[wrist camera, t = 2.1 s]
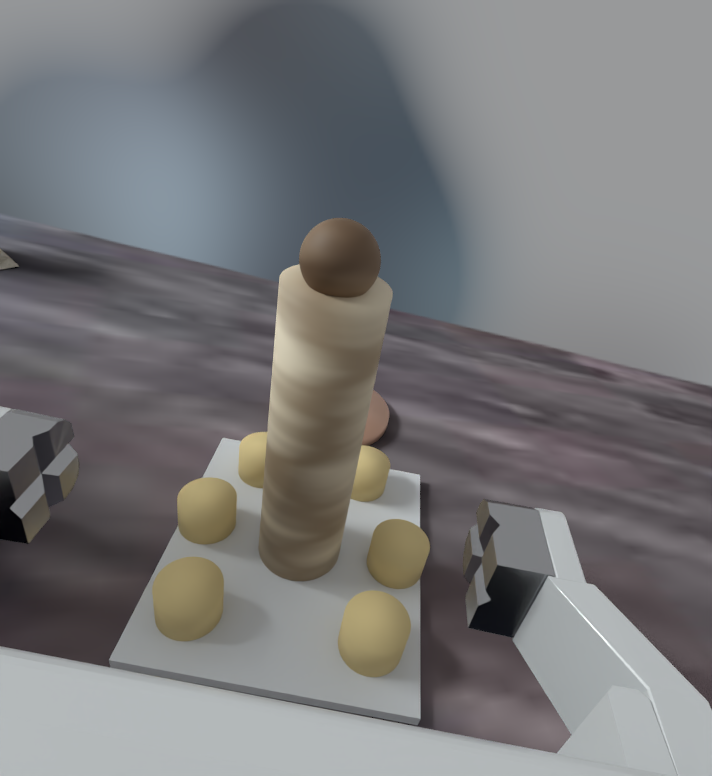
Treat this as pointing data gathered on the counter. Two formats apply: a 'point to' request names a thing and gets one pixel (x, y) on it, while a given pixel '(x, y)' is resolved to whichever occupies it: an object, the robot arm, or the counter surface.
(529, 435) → the counter surface
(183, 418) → the counter surface
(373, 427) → the coaster
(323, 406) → the pepper mill
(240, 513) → the mat
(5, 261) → the condiment
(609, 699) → the robot arm
